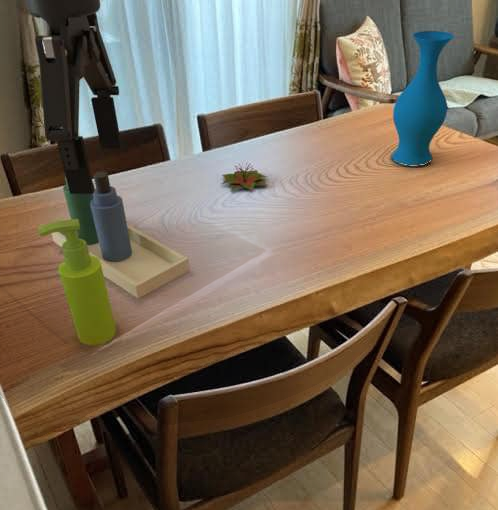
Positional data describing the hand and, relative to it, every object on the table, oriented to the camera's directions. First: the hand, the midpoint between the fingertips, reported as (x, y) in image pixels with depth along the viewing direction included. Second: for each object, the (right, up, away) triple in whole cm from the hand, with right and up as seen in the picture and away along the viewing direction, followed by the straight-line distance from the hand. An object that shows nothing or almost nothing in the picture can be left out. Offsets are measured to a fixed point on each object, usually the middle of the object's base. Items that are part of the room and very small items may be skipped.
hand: (98, 168), depth 68 cm
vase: (+60, +21, +66) cm, 91 cm away
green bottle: (-12, -3, +39) cm, 41 cm away
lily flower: (+18, +13, +58) cm, 62 cm away
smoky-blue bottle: (-6, -7, +34) cm, 35 cm away
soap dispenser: (-5, -22, +17) cm, 28 cm away
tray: (-6, -7, +34) cm, 35 cm away
